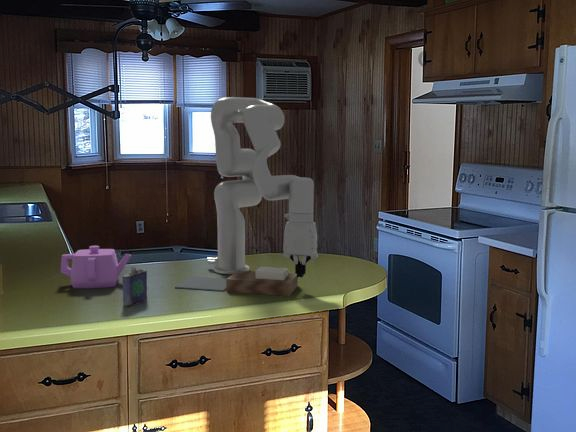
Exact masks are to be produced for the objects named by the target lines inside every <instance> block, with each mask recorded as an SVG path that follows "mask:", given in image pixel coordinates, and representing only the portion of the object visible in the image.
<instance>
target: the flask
mask: <svg viewBox="0 0 576 432" xmlns="http://www.w3.org/2000/svg"><path fill="white" fill-rule="evenodd" d="M130 269H131V270H130V272H129V273H127V274H124V275H122V305H123V307H126V308H127V307H132V305H133V306H135V305H137V303H138V304H139V303H144V302H146V301H147V300H148V285H147V283H148V281H147V280H148V278H147V277H148V276H147V275H148V274H147V273H148V271H147V270H145V269H140V268H139V269H137V267H135V266H134V265H133V266H130Z"/></svg>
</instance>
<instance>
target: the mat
mask: <svg viewBox="0 0 576 432" xmlns="http://www.w3.org/2000/svg"><path fill="white" fill-rule="evenodd" d="M226 279H227V278H221V277H219V278H218V277H208V276H207V277H204V276H203V277H202V276H189V277H188V278H186V279H185V280H183V281H182V282H180V283H178V284H177V285H176V286H175V287H174V289H182V290H185V289H186V290H195V291H196V290H198V291H211V292H225V291H227V289H226Z"/></svg>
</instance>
